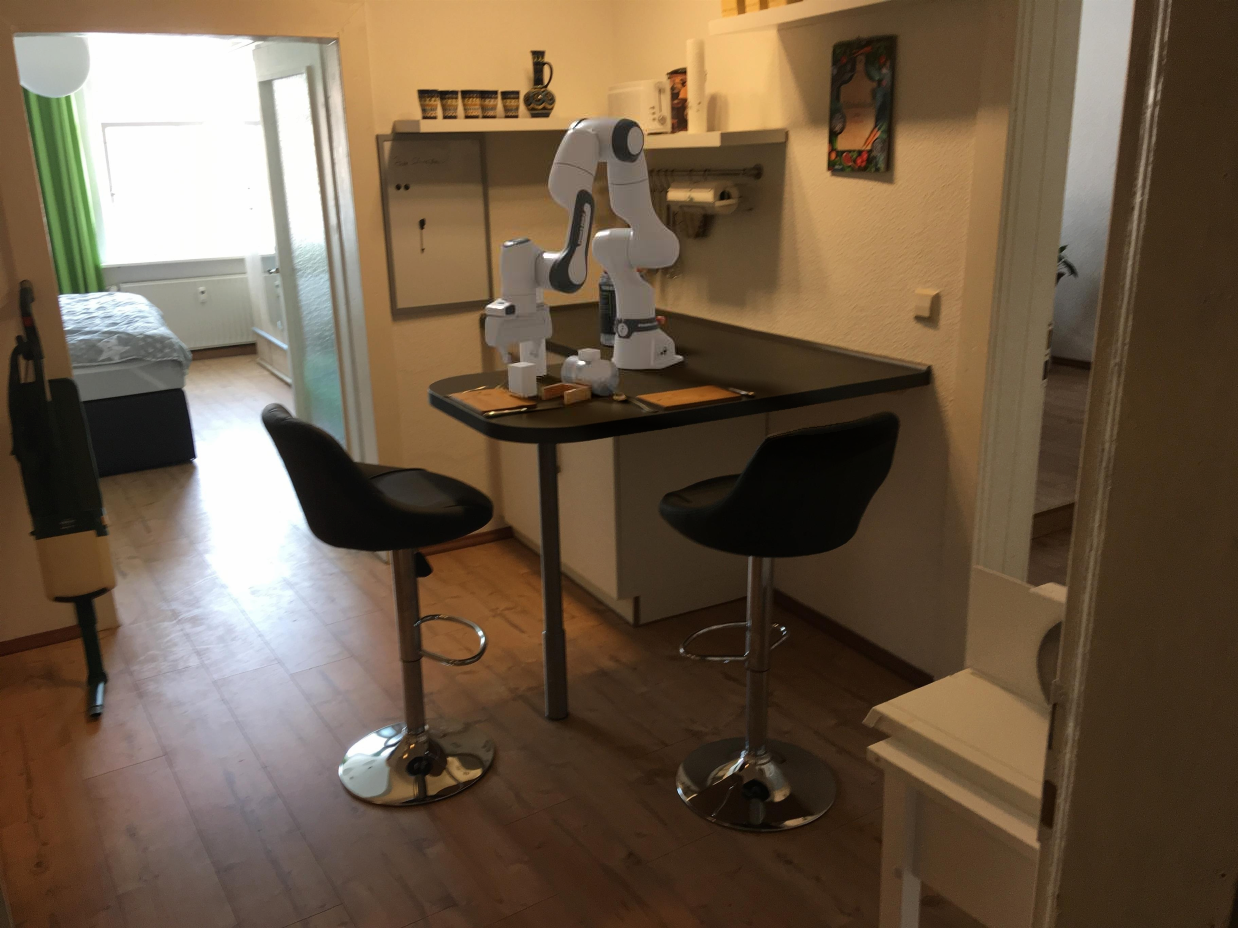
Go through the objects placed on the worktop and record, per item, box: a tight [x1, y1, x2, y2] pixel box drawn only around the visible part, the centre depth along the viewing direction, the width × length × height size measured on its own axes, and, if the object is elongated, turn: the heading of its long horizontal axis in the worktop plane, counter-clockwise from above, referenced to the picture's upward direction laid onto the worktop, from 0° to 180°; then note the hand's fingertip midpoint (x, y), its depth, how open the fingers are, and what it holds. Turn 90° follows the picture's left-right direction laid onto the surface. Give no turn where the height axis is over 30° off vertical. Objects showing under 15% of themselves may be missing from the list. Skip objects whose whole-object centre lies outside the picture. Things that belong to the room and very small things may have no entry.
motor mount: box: [541, 347, 620, 405], centre depth 254 cm, size 18×12×11 cm
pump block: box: [507, 362, 538, 398], centre depth 256 cm, size 5×5×8 cm
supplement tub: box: [598, 267, 648, 347], centre depth 324 cm, size 16×16×26 cm
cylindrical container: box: [519, 288, 547, 377], centre depth 278 cm, size 7×7×25 cm
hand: (520, 359), depth 254 cm, fingers open, 8 cm apart
